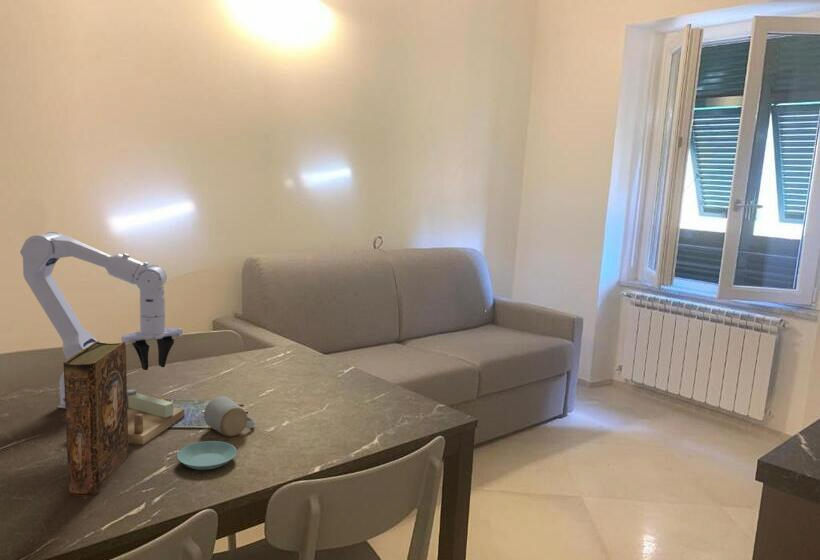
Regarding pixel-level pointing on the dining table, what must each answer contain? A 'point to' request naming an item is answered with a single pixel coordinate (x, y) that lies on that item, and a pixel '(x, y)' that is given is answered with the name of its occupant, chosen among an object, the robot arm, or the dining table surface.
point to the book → (95, 416)
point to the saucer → (206, 455)
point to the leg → (149, 404)
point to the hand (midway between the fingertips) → (153, 367)
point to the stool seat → (149, 424)
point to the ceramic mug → (226, 416)
